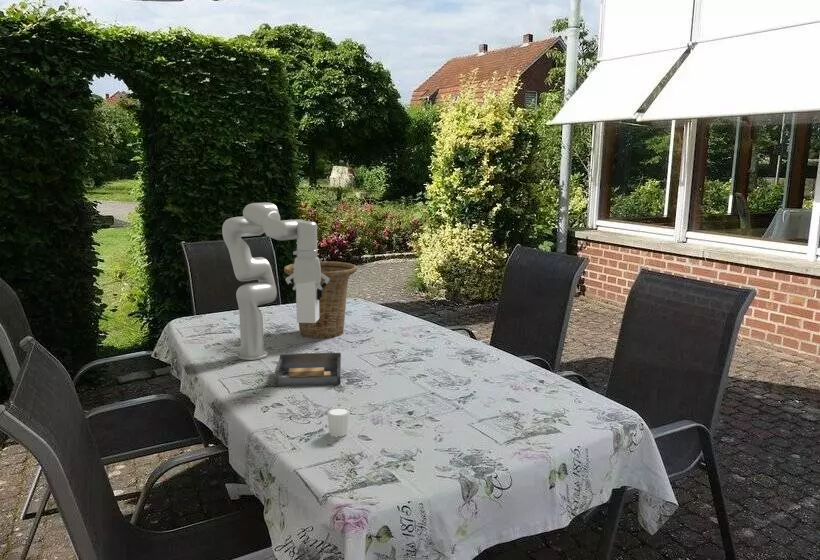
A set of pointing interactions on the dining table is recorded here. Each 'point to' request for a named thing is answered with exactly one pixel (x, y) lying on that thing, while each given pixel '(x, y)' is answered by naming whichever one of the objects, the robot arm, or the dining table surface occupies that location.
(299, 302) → the milk carton
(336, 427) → the white cylinder
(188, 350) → the dining table surface
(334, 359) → the dark grey tray
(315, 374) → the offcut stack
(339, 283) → the wicker basket
